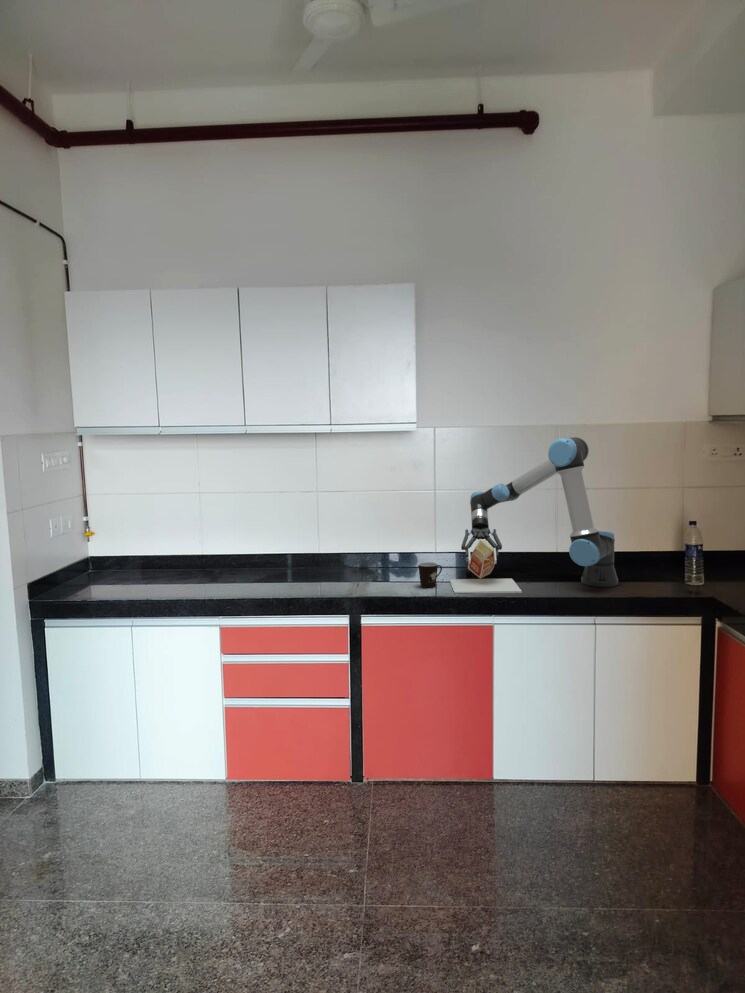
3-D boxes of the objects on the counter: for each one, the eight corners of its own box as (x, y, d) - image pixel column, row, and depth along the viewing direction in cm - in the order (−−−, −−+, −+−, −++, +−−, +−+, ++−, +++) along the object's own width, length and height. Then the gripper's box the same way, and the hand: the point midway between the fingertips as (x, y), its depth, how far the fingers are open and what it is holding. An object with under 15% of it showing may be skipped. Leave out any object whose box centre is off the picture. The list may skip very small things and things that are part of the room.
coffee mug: (421, 589, 276) (421, 566, 275) (416, 585, 284) (415, 563, 283) (447, 587, 278) (447, 565, 277) (441, 583, 287) (441, 561, 286)
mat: (512, 580, 290) (512, 578, 289) (521, 592, 267) (521, 591, 267) (449, 581, 291) (449, 579, 291) (454, 593, 268) (454, 591, 268)
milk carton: (467, 568, 291) (468, 542, 276) (481, 556, 295) (483, 530, 279) (482, 580, 286) (484, 555, 271) (496, 568, 290) (499, 542, 274)
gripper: (504, 526, 295) (508, 566, 281) (454, 526, 298) (455, 566, 284) (505, 516, 290) (509, 557, 276) (454, 516, 292) (456, 557, 278)
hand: (482, 562), depth 280 cm, fingers closed on milk carton, 10 cm apart
